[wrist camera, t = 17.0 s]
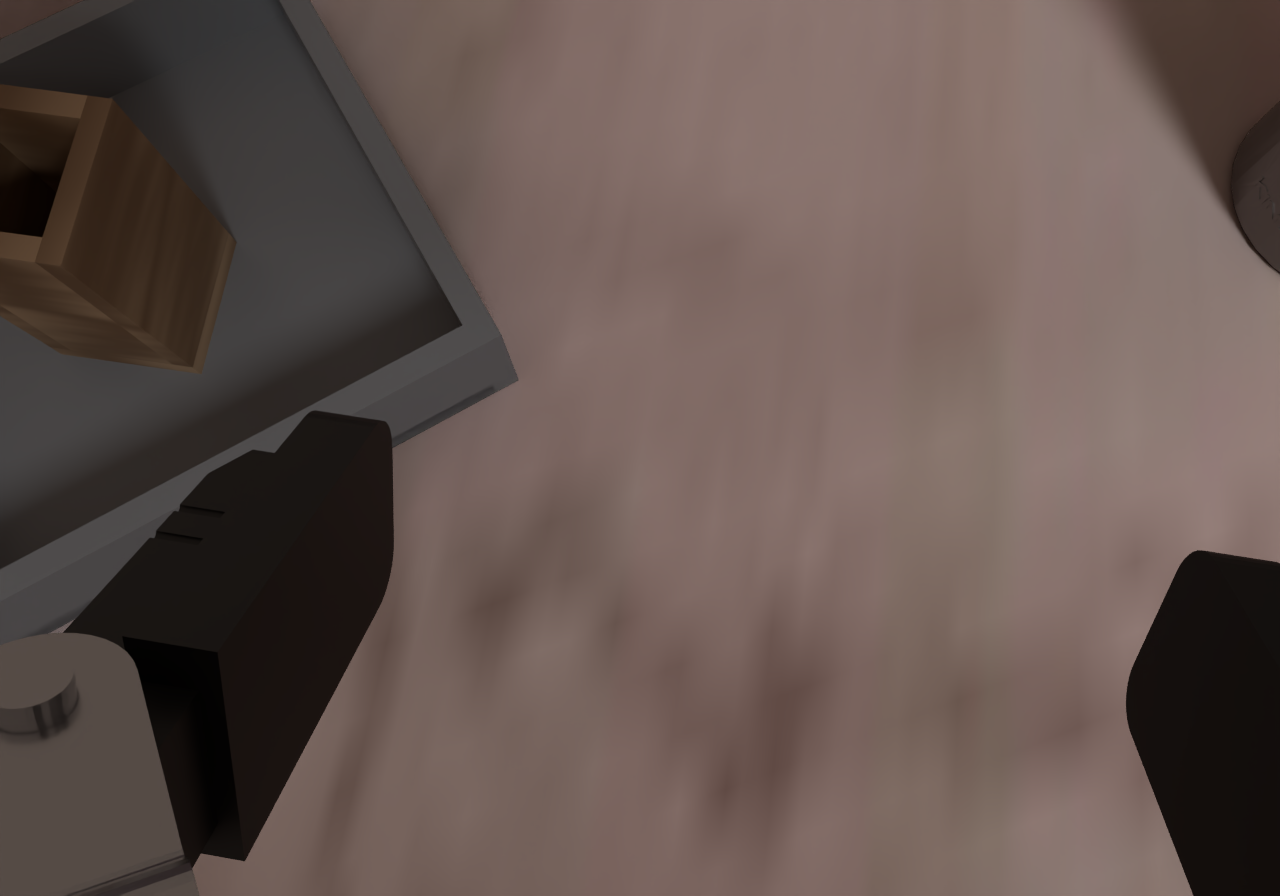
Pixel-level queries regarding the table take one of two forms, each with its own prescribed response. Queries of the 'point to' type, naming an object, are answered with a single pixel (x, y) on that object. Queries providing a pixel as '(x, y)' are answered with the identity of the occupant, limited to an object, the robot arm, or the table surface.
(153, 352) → the walnut crate
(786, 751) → the table surface
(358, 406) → the grey tray
